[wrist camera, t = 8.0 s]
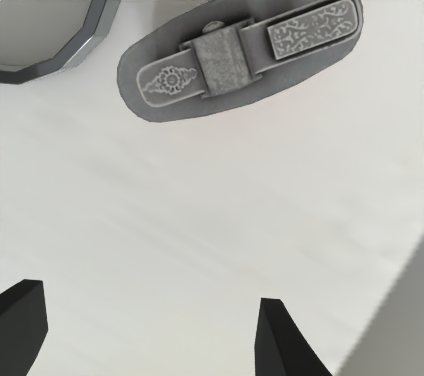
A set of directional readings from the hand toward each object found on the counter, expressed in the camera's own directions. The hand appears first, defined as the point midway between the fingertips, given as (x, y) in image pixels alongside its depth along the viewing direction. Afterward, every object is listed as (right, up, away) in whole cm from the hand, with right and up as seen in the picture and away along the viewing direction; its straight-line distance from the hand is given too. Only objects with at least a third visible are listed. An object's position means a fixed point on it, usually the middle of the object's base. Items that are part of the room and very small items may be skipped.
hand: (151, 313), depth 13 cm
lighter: (+3, +11, +7) cm, 13 cm away
